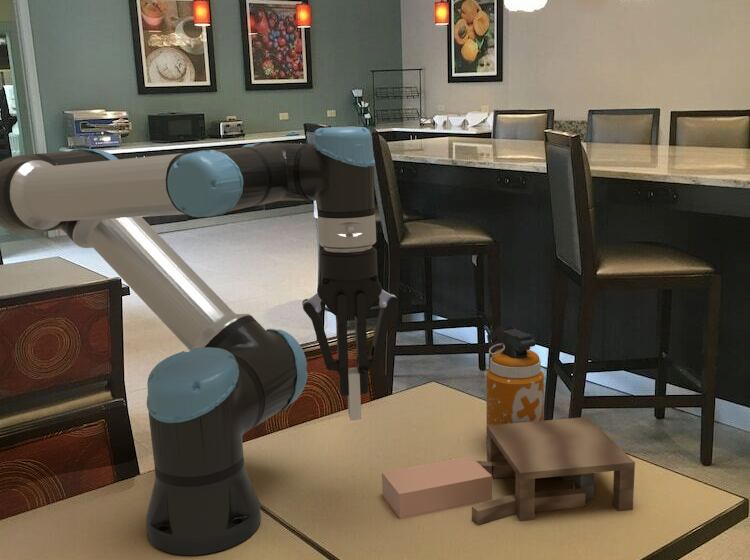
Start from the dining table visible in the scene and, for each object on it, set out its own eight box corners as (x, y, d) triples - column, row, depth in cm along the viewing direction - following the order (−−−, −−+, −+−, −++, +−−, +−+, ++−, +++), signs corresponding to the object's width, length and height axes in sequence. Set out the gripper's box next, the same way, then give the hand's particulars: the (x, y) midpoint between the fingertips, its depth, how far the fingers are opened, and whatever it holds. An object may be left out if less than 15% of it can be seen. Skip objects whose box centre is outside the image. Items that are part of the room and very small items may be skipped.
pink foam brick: (399, 520, 108) (399, 494, 107) (382, 497, 114) (381, 472, 113) (492, 501, 112) (492, 475, 111) (470, 480, 119) (470, 456, 118)
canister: (506, 464, 123) (507, 341, 118) (469, 438, 132) (469, 323, 128) (553, 453, 126) (556, 332, 122) (514, 428, 136) (515, 316, 132)
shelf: (474, 525, 105) (474, 477, 104) (447, 471, 121) (446, 428, 119) (632, 509, 108) (635, 462, 107) (586, 458, 124) (587, 416, 122)
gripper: (299, 255, 99) (308, 431, 104) (402, 249, 101) (406, 422, 106) (296, 244, 106) (305, 409, 111) (392, 239, 108) (396, 402, 113)
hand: (354, 415), depth 109 cm, fingers closed
